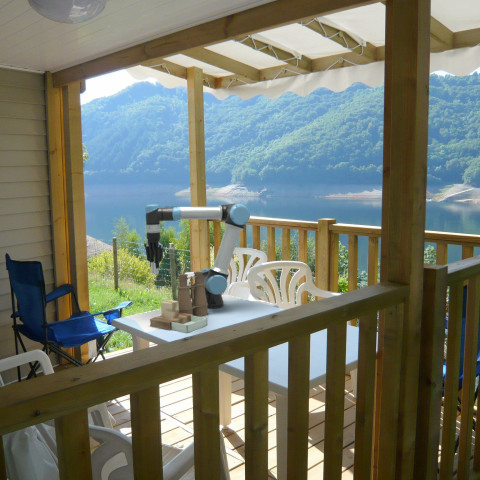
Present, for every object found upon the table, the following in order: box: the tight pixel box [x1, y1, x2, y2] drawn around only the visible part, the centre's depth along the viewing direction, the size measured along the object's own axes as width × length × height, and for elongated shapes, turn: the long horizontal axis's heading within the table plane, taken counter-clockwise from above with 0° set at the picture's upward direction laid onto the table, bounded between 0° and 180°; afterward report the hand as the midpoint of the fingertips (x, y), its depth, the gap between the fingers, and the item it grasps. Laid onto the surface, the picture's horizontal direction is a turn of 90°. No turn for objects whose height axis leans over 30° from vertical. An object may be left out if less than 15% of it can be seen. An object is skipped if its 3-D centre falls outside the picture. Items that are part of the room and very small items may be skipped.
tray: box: [171, 316, 208, 334], centre depth 262 cm, size 16×11×4 cm
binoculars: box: [176, 270, 209, 317], centre depth 284 cm, size 21×10×25 cm, turn 133°
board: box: [149, 313, 193, 331], centre depth 269 cm, size 18×14×4 cm
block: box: [160, 299, 179, 319], centre depth 269 cm, size 6×7×8 cm
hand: (155, 273), depth 284 cm, fingers open, 2 cm apart
